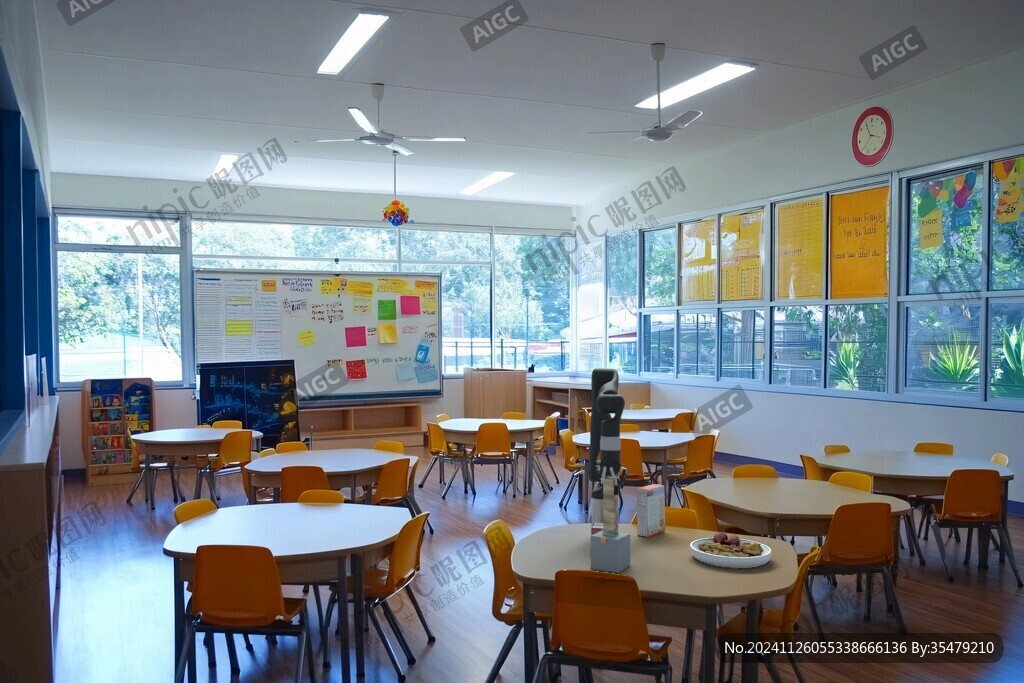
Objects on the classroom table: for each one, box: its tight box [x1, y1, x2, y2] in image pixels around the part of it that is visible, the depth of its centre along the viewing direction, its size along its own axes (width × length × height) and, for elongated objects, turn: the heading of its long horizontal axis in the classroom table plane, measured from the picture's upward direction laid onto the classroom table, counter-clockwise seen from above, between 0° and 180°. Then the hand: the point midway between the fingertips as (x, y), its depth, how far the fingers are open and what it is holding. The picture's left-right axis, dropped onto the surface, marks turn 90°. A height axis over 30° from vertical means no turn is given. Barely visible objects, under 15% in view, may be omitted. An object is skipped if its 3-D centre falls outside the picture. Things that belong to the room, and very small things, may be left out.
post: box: [603, 477, 619, 537], centre depth 278 cm, size 4×4×24 cm
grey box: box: [590, 530, 631, 574], centre depth 278 cm, size 12×11×12 cm
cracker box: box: [636, 483, 666, 538], centre depth 329 cm, size 14×6×21 cm, turn 136°
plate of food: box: [689, 531, 772, 569], centre depth 289 cm, size 30×30×8 cm
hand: (610, 494), depth 278 cm, fingers closed on post, 4 cm apart
